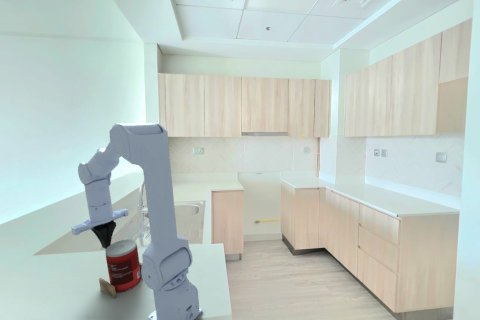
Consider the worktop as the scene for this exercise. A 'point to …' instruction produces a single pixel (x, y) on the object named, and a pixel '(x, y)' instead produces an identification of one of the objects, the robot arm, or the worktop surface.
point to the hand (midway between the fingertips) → (106, 247)
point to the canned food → (123, 265)
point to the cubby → (110, 286)
